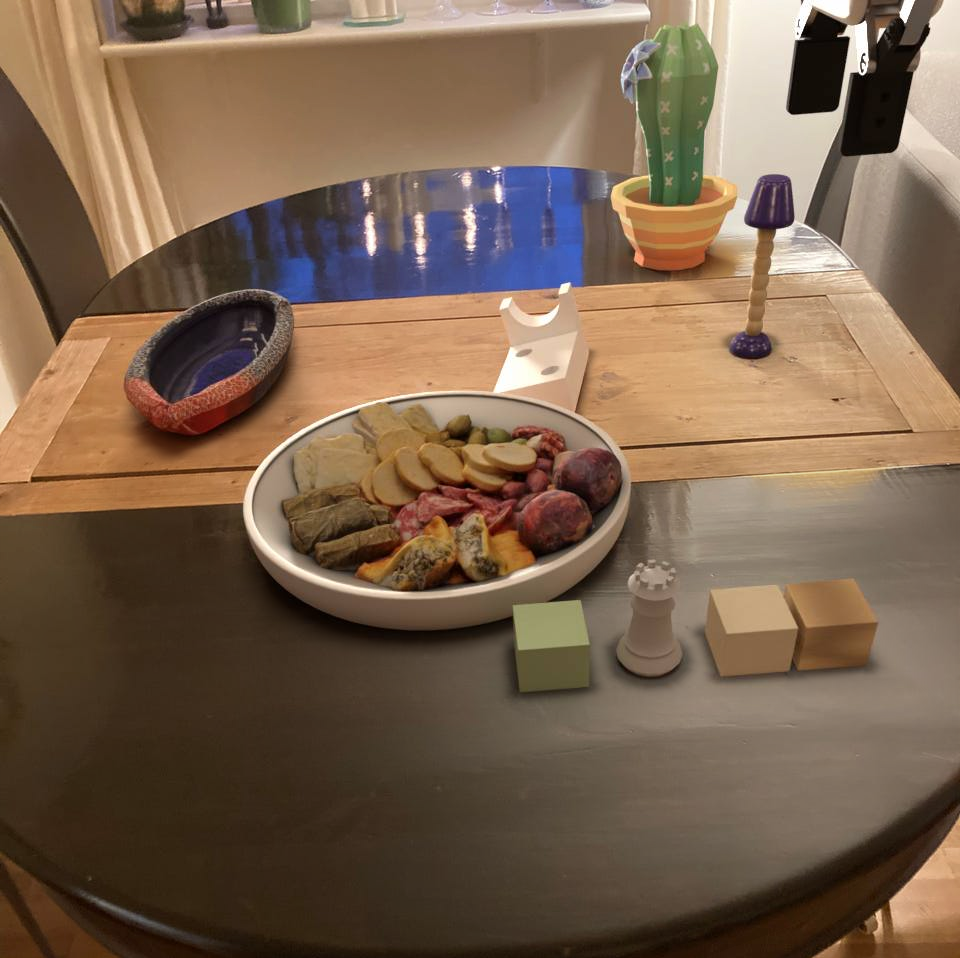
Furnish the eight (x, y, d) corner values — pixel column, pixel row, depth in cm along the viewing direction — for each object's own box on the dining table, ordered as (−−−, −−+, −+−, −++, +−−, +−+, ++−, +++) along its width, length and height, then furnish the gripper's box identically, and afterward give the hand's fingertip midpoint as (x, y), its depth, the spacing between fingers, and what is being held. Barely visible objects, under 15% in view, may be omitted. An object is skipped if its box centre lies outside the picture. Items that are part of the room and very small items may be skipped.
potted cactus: (631, 232, 128) (640, 12, 112) (745, 243, 123) (773, 13, 106) (590, 272, 118) (593, 37, 102) (712, 286, 113) (737, 39, 96)
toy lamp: (725, 340, 101) (744, 171, 90) (770, 338, 101) (794, 169, 90) (732, 360, 98) (753, 186, 87) (779, 358, 97) (805, 183, 86)
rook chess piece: (646, 700, 61) (654, 603, 56) (600, 664, 64) (603, 569, 59) (696, 670, 63) (707, 573, 58) (649, 636, 66) (655, 542, 61)
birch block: (841, 630, 65) (854, 578, 63) (864, 674, 62) (879, 621, 59) (775, 635, 65) (785, 583, 63) (795, 680, 62) (806, 627, 59)
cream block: (768, 635, 65) (778, 584, 63) (787, 680, 62) (798, 628, 59) (703, 641, 66) (709, 589, 63) (719, 686, 62) (726, 633, 59)
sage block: (580, 650, 66) (580, 599, 63) (589, 696, 62) (590, 644, 59) (514, 655, 66) (512, 605, 63) (520, 701, 62) (517, 650, 59)
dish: (327, 323, 111) (320, 280, 108) (243, 458, 88) (230, 409, 85) (201, 323, 113) (190, 281, 110) (87, 455, 91) (69, 407, 87)
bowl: (201, 644, 68) (172, 555, 63) (313, 437, 91) (297, 358, 86) (623, 664, 64) (628, 570, 59) (631, 441, 86) (635, 359, 81)
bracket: (524, 367, 101) (503, 299, 97) (589, 352, 99) (570, 282, 95) (503, 427, 92) (479, 354, 87) (574, 412, 89) (553, 336, 85)
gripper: (1077, -286, 39) (963, 167, 50) (910, -260, 52) (850, 94, 63) (893, -271, 39) (820, 178, 50) (773, -249, 52) (737, 103, 63)
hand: (837, 131), depth 57 cm, fingers open, 9 cm apart
